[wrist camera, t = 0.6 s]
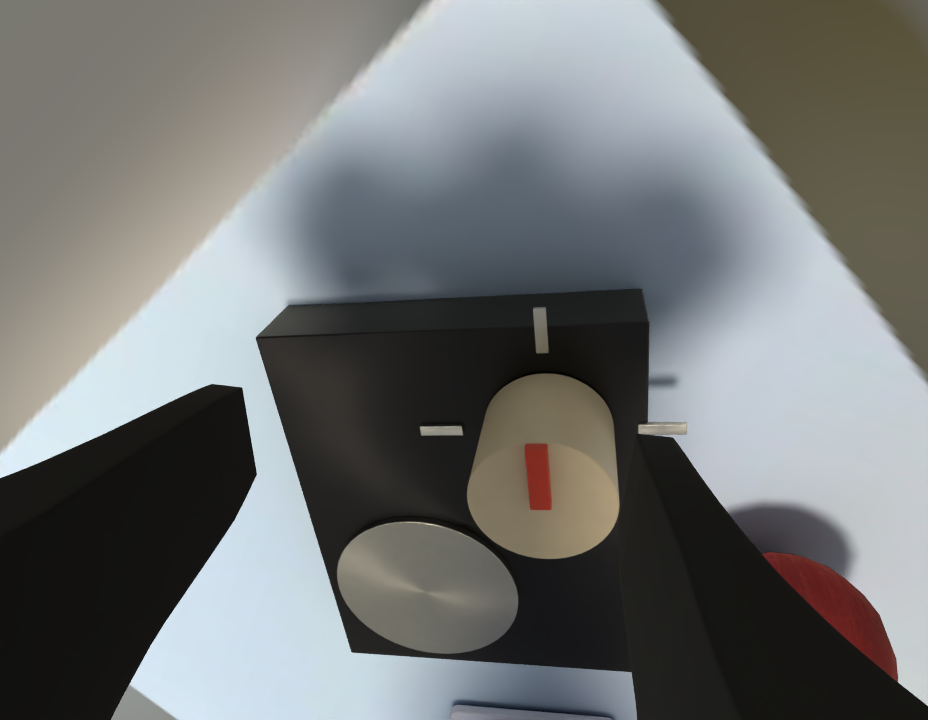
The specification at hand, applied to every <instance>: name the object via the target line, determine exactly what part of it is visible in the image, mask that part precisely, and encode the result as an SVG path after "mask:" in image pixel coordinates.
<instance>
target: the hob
mask: <svg viewBox="0 0 928 720" xmlns="http://www.w3.org/2000/svg"><path fill="white" fill-rule="evenodd" d="M256 341H257V344H258V347H259V350H260V354H261V357H262V360H263V364H264V367H265V370H266V373H267V377H268V380H269V383H270V386H271V390H272V393H273V396H274V400H275V403H276V406H277V409H278V413H279V416H280V419H281V423H282V426H283V429H284V432H285V436H286V439H287V442H288V445H289V449H290V452H291V455H292V459H293V462H294V465H295V468H296V472H297V475H298V478H299V481H300V485H301V488H302V491H303V495H304V498H305V501H306V504H307V508H308V511H309V514H310V518H311V521H312V524H313V527H314V531H315V534H316V537H317V540H318V544H319V547H320V550H321V554H322V557H323V560H324V563H325V567H326V570H327V573H328V576H329V580H330V583H331V586H332V590H333V593H334V596H335V599H336V603H337V606H338V609H339V613H340V616H341V619H342V622H343V626H344V629H345V632H346V635H347V639H348V642H349V645H350V649H351V652H353V653H367V654H381V655H395V656H410V657H424V658H438V659H452V660H467V661H481V662H495V663H510V664H524V665H538V666H552V667H567V668H581V669H595V670H609V671H624V672H632V670H631V663H630V655H629V648H628V640H627V633H626V625H625V618H624V610H623V602H622V594H621V586H620V578H619V519H620V514H621V509H622V504H623V499H624V494H625V489H626V484H627V478H628V473H629V468H630V463H631V458H632V453H633V448H634V443H635V438H636V433H637V434H645V435H682V434H687V423H686V422H648V380H649V318H648V314H647V309H646V304H645V300H644V295H643V291H642V289H628V290H607V291H587V292H567V293H547V294H526V295H506V296H486V297H466V298H445V299H425V300H405V301H384V302H364V303H344V304H324V305H303V306H287V307H286V308H285V309H284V310H283V311H282V312H281V313H280V314H279V315H278V316H277V317H276V318H275V319H274V320H273V321H272V322H271V323H270V324H269V325H268V326H267V327H266V328H265V329H264V330H263V331H262V332H261V333H260V334H259V335H258V336H257V337H256ZM543 373H546V374H558V375H564V376H567V377H571V378H573V379H576V380H578V381H580V382H582V383H584V384H586V385H587V386H589V387H590V388H592V389H593V390H594V391H595V392H596V393H597V394H598V395H600V397H601V398H602V399H603V400H604V401H605V403H606V405H607V406H608V408H609V410H610V412H611V415H612V419H613V423H614V435H615V449H616V462H617V476H618V489H619V503H620V505H619V514H618V518H617V521H616V523H615V525H614V527H613V528H612V530H611V531H610V533H609V534H608V535H607V536H606V538H605V539H604V540H603V541H601V542H600V543H599V544H598V545H596V546H595V547H593V548H591V549H590V550H588V551H585V552H583V553H581V554H578V555H575V556H571V557H566V558H558V559H541V558H533V557H528V556H524V555H520V554H517V553H515V552H512V551H510V550H508V549H506V548H504V547H502V546H500V545H498V544H497V543H495V542H494V541H493V540H491V539H490V538H489V537H488V536H487V535H486V534H485V533H484V532H483V531H482V530H481V529H480V528H479V527H478V525H477V524H476V522H475V520H474V519H473V517H472V515H471V512H470V510H469V506H468V501H467V488H468V483H469V479H470V475H471V471H472V467H473V463H474V459H475V455H476V451H477V446H478V442H479V438H480V434H481V430H482V426H483V422H484V418H485V414H486V410H487V408H488V406H489V403H490V402H491V400H492V399H493V397H494V396H495V395H496V394H497V393H498V392H499V391H500V390H501V389H502V388H503V387H504V386H506V385H508V384H509V383H511V382H512V381H515V380H517V379H519V378H522V377H525V376H529V375H534V374H543ZM408 516H415V517H427V518H432V519H438V520H442V521H445V522H449V523H452V524H455V525H457V526H460V527H462V528H464V529H466V530H468V531H470V532H472V533H474V534H476V535H477V536H479V537H481V538H482V539H484V540H485V541H486V542H488V543H489V544H490V545H491V546H493V547H494V548H495V549H496V550H497V551H498V552H499V553H500V554H501V555H502V556H503V558H504V559H505V560H506V562H507V563H508V564H509V566H510V568H511V570H512V571H513V573H514V576H515V578H516V581H517V585H518V590H519V604H518V610H517V614H516V617H515V619H514V622H513V623H512V625H511V626H510V628H509V629H508V630H507V631H506V633H505V634H504V635H503V636H501V637H500V638H499V639H498V640H496V641H494V642H493V643H491V644H489V645H487V646H485V647H482V648H480V649H476V650H473V651H469V652H463V653H452V654H442V653H431V652H424V651H419V650H415V649H411V648H408V647H405V646H402V645H399V644H397V643H394V642H392V641H390V640H388V639H386V638H384V637H382V636H381V635H379V634H377V633H376V632H374V631H373V630H372V629H370V628H369V627H367V626H366V625H365V624H364V623H363V622H362V621H360V620H359V619H358V618H357V616H356V615H355V614H354V613H353V612H352V611H351V609H350V608H349V607H348V605H347V604H346V602H345V600H344V598H343V597H342V594H341V592H340V589H339V585H338V581H337V567H338V561H339V559H340V556H341V553H342V551H343V549H344V547H345V546H346V544H347V542H348V541H349V540H350V539H351V538H352V537H353V536H354V535H355V534H356V533H357V532H359V531H360V530H361V529H363V528H365V527H367V526H368V525H370V524H373V523H375V522H378V521H381V520H385V519H389V518H395V517H408Z"/></svg>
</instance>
